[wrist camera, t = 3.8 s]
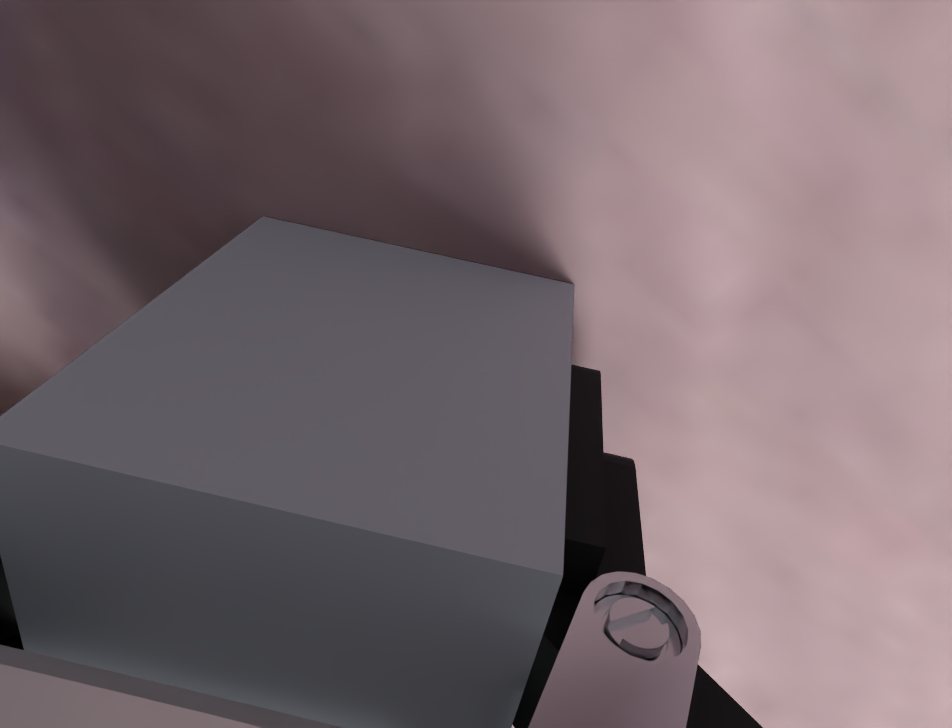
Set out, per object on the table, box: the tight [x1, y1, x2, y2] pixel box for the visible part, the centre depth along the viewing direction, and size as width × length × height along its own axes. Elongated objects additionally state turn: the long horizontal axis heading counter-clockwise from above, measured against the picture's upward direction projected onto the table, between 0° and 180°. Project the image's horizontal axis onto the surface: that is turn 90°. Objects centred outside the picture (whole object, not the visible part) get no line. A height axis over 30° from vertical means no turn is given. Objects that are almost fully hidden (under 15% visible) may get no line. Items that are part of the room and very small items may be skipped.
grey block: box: [0, 216, 574, 728], centre depth 10 cm, size 5×5×6 cm
